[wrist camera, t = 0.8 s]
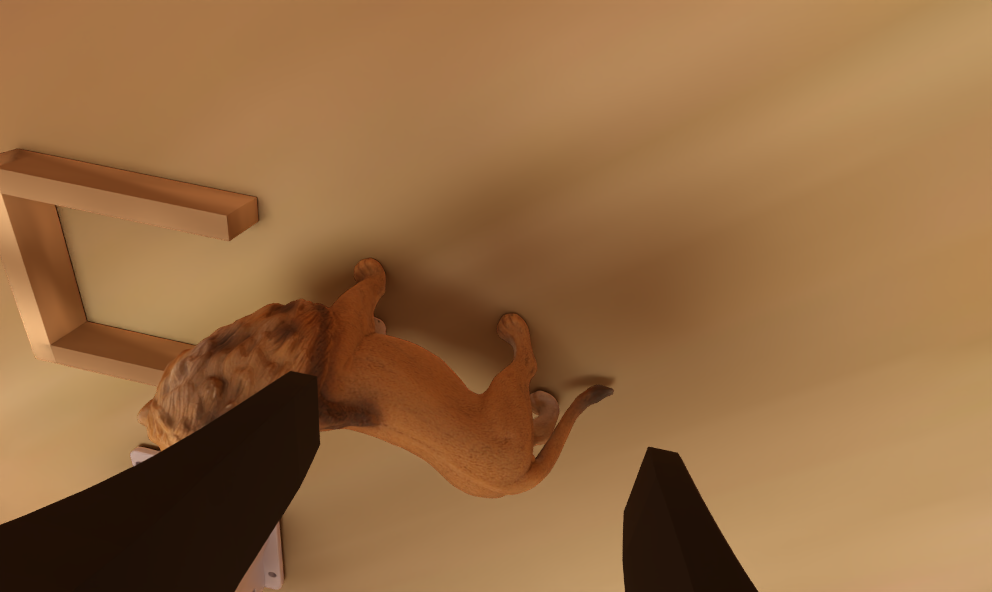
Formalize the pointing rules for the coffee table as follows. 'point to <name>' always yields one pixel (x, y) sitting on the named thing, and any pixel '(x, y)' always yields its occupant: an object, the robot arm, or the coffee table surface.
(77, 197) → the wooden frame
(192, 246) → the coffee table surface
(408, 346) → the lion figurine
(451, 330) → the coffee table surface
